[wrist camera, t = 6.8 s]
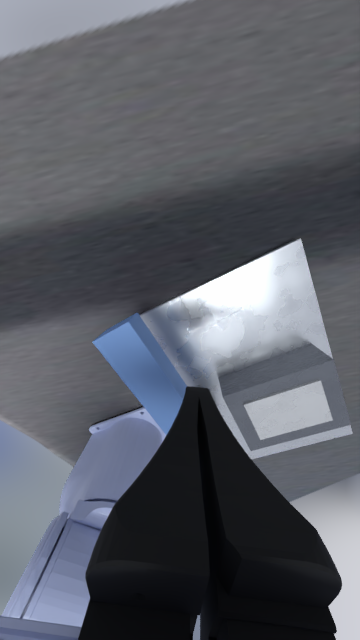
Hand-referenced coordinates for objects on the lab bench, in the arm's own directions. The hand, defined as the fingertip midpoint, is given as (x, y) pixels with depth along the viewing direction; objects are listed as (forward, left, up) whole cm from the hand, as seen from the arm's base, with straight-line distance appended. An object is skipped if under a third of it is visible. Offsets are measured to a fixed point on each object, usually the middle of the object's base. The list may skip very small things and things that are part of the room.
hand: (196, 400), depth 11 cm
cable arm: (-3, -3, -4) cm, 5 cm away
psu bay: (+4, -7, -9) cm, 12 cm away
